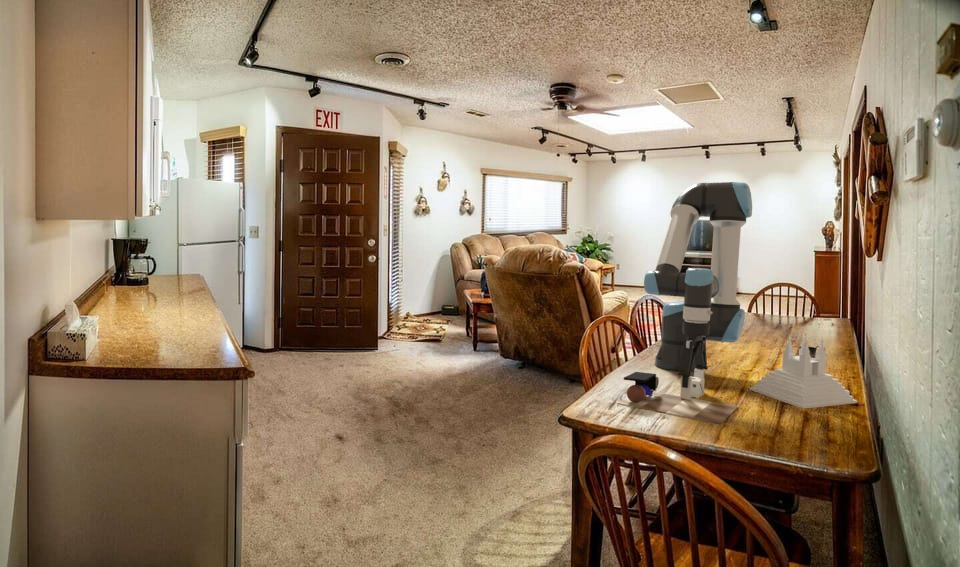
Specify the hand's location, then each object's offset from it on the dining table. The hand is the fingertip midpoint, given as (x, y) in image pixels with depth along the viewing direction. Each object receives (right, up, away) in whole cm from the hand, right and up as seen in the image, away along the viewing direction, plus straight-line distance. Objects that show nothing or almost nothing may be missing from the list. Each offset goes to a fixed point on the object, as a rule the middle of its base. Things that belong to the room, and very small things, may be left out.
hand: (691, 394), depth 183 cm
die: (+1, 0, +1) cm, 1 cm away
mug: (+45, +1, +19) cm, 49 cm away
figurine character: (-16, 0, -4) cm, 17 cm away
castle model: (+33, -1, +2) cm, 33 cm away
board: (-8, -1, -11) cm, 13 cm away
